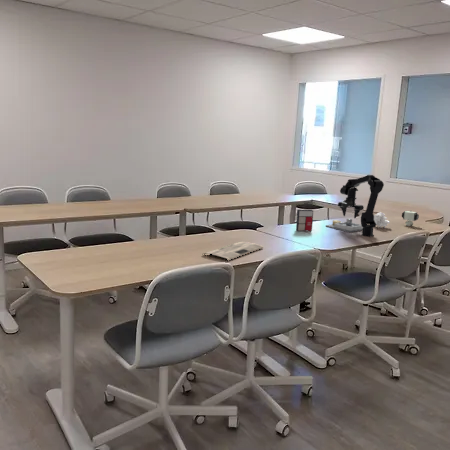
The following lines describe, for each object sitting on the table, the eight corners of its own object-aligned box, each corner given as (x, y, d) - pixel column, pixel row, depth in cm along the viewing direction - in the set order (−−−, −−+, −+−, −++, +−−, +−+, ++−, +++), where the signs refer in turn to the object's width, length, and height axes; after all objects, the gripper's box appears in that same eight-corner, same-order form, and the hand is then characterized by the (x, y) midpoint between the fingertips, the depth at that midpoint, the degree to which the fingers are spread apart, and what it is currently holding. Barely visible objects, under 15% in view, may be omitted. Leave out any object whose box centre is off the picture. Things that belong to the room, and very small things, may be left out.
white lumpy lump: (389, 229, 347) (391, 214, 345) (373, 228, 349) (374, 213, 347) (387, 226, 358) (389, 211, 355) (371, 225, 360) (373, 210, 358)
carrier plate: (363, 229, 344) (364, 224, 343) (350, 232, 333) (350, 226, 332) (339, 224, 360) (339, 219, 359) (325, 226, 349) (326, 221, 348)
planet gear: (359, 228, 343) (359, 219, 342) (350, 229, 336) (351, 221, 335) (346, 225, 351) (347, 217, 350) (338, 227, 344) (338, 218, 343)
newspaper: (228, 262, 249) (228, 257, 248) (199, 256, 260) (200, 251, 259) (263, 249, 279) (263, 245, 278) (236, 244, 289) (236, 239, 289)
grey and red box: (297, 231, 329) (299, 210, 326) (295, 230, 334) (297, 209, 330) (312, 231, 332) (313, 210, 329) (310, 229, 336) (311, 209, 333)
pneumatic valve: (415, 227, 360) (417, 212, 357) (400, 224, 367) (402, 209, 365) (418, 226, 364) (419, 211, 361) (403, 223, 371) (404, 209, 369)
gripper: (334, 195, 341) (332, 216, 344) (355, 198, 327) (353, 220, 330) (343, 194, 348) (341, 214, 351) (365, 197, 334) (362, 219, 337)
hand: (349, 217), depth 342 cm, fingers open, 9 cm apart
